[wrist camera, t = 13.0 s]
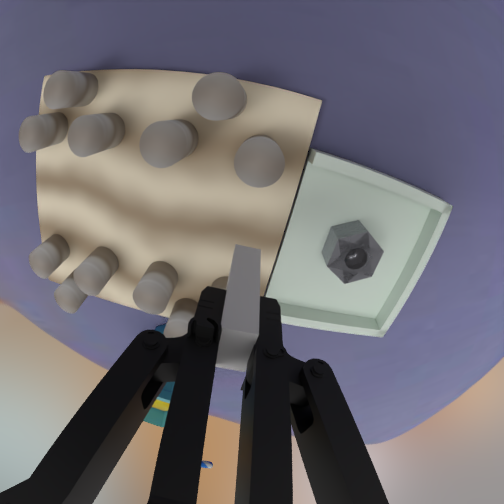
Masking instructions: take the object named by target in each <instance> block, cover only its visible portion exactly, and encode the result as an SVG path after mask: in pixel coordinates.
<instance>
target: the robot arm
mask: <svg viewBox="0 0 504 504" xmlns="http://www.w3.org/2000/svg"><path fill="white" fill-rule="evenodd" d="M260 268H261V249H256V248H251V247H247V246H242V245H237V244H235V249H234V253H233V258H232V263H231V267H230V272H229V276H228V281H227V286H226V290H224V289H220V288H215V287H210V286H207V287H206V288H205V289H204V290H202V291H201V295H200V298H199V301H198V305H197V308H196V312H195V315H194V317H193V318H191V319H190V321H189V323H188V331H187V333H186V334H185V335H183V336H180V337H174V338H166V337H165V335H164V334H162V333H161V332H159V331H156V330H145V331H142V332H141V333H139V334H138V335H137V336H136V337H135V339H134V340H133V341H132V342H131V344H130V345H129V346H128V347H127V348H126V350H125V351H124V352H123V353H122V355H121V356H120V357H119V358H118V360H117V361H116V362H115V363H114V365H113V366H112V367H111V368H110V370H109V371H108V372H107V374H106V375H105V376H104V377H103V379H102V380H101V381H100V382H99V384H98V385H97V386H96V388H95V389H94V390H93V391H92V393H91V394H90V395H89V397H88V398H87V399H86V401H85V402H84V403H83V404H82V406H81V407H80V408H79V410H78V411H77V412H76V414H75V415H74V416H73V418H72V419H71V420H70V422H69V423H68V425H67V426H66V427H65V429H64V430H63V431H62V433H61V434H60V435H59V437H58V438H57V439H56V441H55V442H54V444H53V445H52V446H51V448H50V449H49V451H48V452H47V454H46V455H45V456H44V458H43V459H42V461H41V462H40V463H39V465H38V466H37V468H36V469H35V471H34V472H33V474H32V475H31V477H30V478H29V479H27V480H25V481H23V482H21V483H19V484H17V485H15V486H13V487H11V488H9V489H7V490H5V491H3V492H1V493H0V504H92V503H93V502H94V500H95V499H96V497H97V495H98V494H99V492H100V490H101V489H102V487H103V485H104V484H105V482H106V480H107V479H108V477H109V475H110V474H111V472H112V471H113V469H114V467H115V466H116V464H117V462H118V461H119V459H120V458H121V456H122V454H123V453H124V451H125V449H126V448H127V446H128V444H129V443H130V441H131V440H132V438H133V436H134V435H135V433H136V431H137V430H138V428H139V426H140V425H141V423H142V422H143V420H144V418H145V417H146V415H147V414H148V412H149V410H150V409H151V407H152V405H153V404H154V402H155V401H156V399H157V397H158V396H159V394H160V393H161V391H162V389H163V388H164V386H165V384H166V383H167V382H175V384H174V388H173V392H172V396H171V400H170V404H169V408H168V412H167V417H166V421H165V425H164V430H163V434H162V439H161V443H160V448H159V452H158V457H157V461H156V467H155V471H154V476H153V481H152V486H151V492H150V497H149V500H148V503H147V504H196V501H197V493H198V485H199V477H200V470H201V463H202V455H203V447H204V441H205V433H206V426H207V419H208V413H209V406H210V399H211V392H212V386H213V379H214V373H215V367H220V368H225V369H231V370H237V371H243V372H245V370H246V367H247V370H246V377H245V379H244V382H243V384H242V387H241V390H243V398H242V411H241V425H240V438H239V451H238V466H237V479H236V492H235V504H293V489H292V488H293V484H292V443H291V425H292V428H293V431H294V435H295V438H296V441H297V444H298V447H299V450H300V453H301V457H302V460H303V463H304V466H305V469H306V472H307V475H308V479H309V482H310V485H311V488H312V491H313V494H314V497H315V500H316V503H317V504H389V503H388V500H387V498H386V495H385V493H384V490H383V488H382V485H381V483H380V480H379V478H378V475H377V473H376V471H375V468H374V466H373V463H372V461H371V458H370V456H369V454H368V452H367V449H366V446H365V444H364V442H363V439H362V437H361V435H360V432H359V430H358V428H357V425H356V423H355V421H354V418H353V416H352V414H351V411H350V409H349V407H348V405H347V402H346V400H345V398H344V395H343V393H342V391H341V389H340V386H339V384H338V382H337V380H336V377H335V375H334V373H333V371H332V369H331V367H330V366H329V364H327V363H326V362H325V361H323V360H320V359H310V360H308V361H307V362H306V363H305V362H303V361H300V360H298V359H295V358H293V357H292V356H290V355H289V354H288V353H287V352H286V349H285V348H284V347H283V341H282V324H281V307H280V305H279V303H278V301H277V300H276V299H273V298H268V297H263V296H260Z"/></svg>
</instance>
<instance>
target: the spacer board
mask: <svg viewBox="0 0 504 504" xmlns="http://www.w3.org/2000/svg"><path fill="white" fill-rule="evenodd" d="M321 103H322V100H319V99H315V98H312V97H309V96H306V95H302V94H299V93H295V92H292V91H288V90H284V89H280V88H276V87H272V86H268V85H263V84H259V83H254V82H249V81H244V80H239V79H236V78H235V77H233V76H232V75H230V74H227V73H223V72H215V73H211V74H208V75H207V74H199V73H190V72H180V71H167V70H146V69H113V70H92V71H80V72H76V71H64V70H60V71H57V72H55V73H53V74H52V75H48V76H44V81H43V87H42V93H41V100H40V108H39V115H36V116H30V117H27V118H26V119H25V120H24V121H23V122H22V124H21V127H20V130H19V142H20V145H21V148H22V149H23V150H24V151H25V152H27V153H30V152H34V151H36V182H37V202H38V214H39V223H40V232H41V239H42V244H40V245H39V246H38V247H37V248H36V249H34V250H33V251H32V252H31V253H30V255H29V262H30V265H31V268H32V269H33V271H34V272H35V273H36V274H37V275H38V276H39V277H41V278H43V279H46V278H49V280H51V281H54V282H56V283H59V284H61V285H60V286H59V287H58V288H57V289H56V290H55V292H54V297H55V300H56V302H57V304H58V305H59V306H60V307H61V308H62V309H63V310H64V311H66V312H68V313H75V312H76V311H77V310H78V308H79V307H80V306H81V304H82V303H83V302H84V300H85V299H86V298H87V296H88V295H90V296H96V297H99V298H102V299H105V300H109V301H112V302H115V303H118V304H121V305H125V306H128V307H132V308H135V309H139V310H142V311H144V312H146V313H149V314H157V315H160V316H164V317H168V318H169V319H168V322H167V324H166V327H165V329H164V333H163V334H164V335H165V337H166V338H174V337H180V336H183V335H185V334H186V333H187V331H188V323H189V321H190V319H191V318H193V317H194V315H195V312H196V308H197V305H198V301H199V298H200V295H201V291H202V290H204V289H205V288H206V287H207V286H210V287H215V288H220V289H224V290H226V286H227V281H228V276H229V272H230V267H231V263H232V258H233V253H234V249H235V244H237V245H242V246H247V247H251V248H256V249H261V268H260V296H264V293H265V290H266V286H267V283H268V280H269V277H270V274H271V271H272V268H273V265H274V262H275V258H276V255H277V252H278V249H279V246H280V243H281V239H282V236H283V233H284V230H285V227H286V223H287V220H288V217H289V214H290V210H291V207H292V204H293V200H294V197H295V194H296V190H297V187H298V184H299V180H300V177H301V174H302V170H303V167H304V163H305V160H306V156H307V153H308V149H309V146H310V142H311V139H312V135H313V132H314V128H315V125H316V121H317V118H318V114H319V110H320V107H321Z"/></svg>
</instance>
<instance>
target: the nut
mask: <svg viewBox="0 0 504 504" xmlns="http://www.w3.org/2000/svg"><path fill="white" fill-rule="evenodd" d="M383 253H384V251H383V249H382V248H381V247H380V245H379V244H378V243H377V242H376V240H375V239H374V238H373V237H372V235H371V234H370V233H369V232H368V230H367V229H366V228H365V227H364V225H363V224H362V223H361V222H360V221H359V220H355V221H351V222H347V223H343V224H339V225H335V226H331V228H330V231H329V234H328V236H327V239H326V241H325V244H324V247H323V249H322V255H323V258H324V260H325V263H326V266H327V267H328V268H329V269H330V270H331V271H332V272H333V273H334V274H335V275H336V276H337V277H338V278H339V279H340V280H341V281H342V282H343V283H344V284H347V283H350V282H354V281H358V280H362V279H365V278H369V277H372V275H373V273H374V271H375V269H376V267H377V265H378V263H379V261H380V259H381V257H382V255H383Z"/></svg>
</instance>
